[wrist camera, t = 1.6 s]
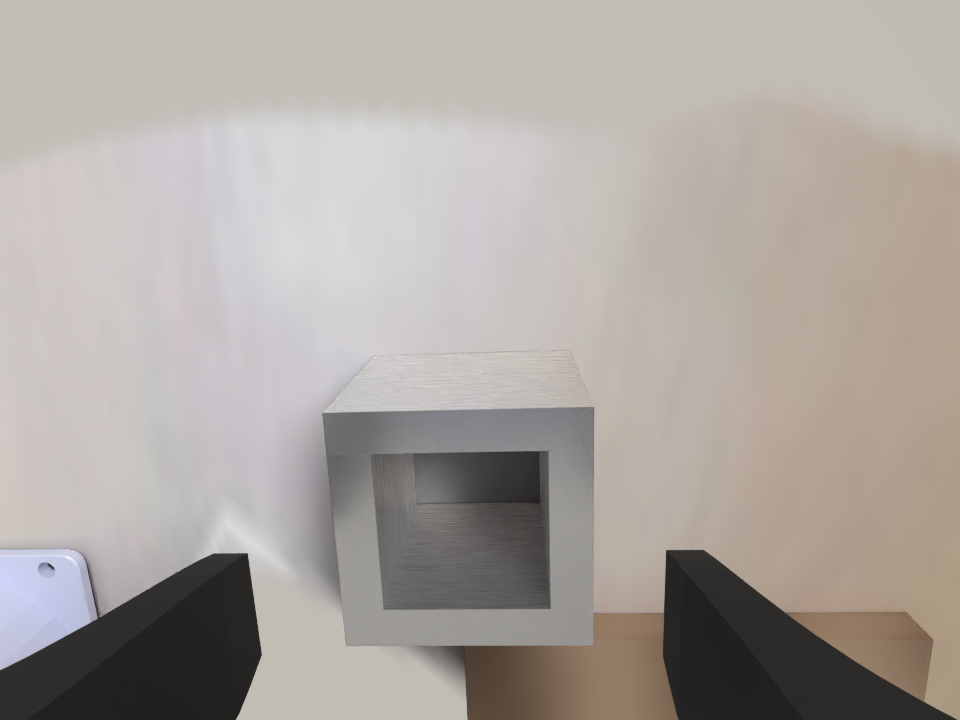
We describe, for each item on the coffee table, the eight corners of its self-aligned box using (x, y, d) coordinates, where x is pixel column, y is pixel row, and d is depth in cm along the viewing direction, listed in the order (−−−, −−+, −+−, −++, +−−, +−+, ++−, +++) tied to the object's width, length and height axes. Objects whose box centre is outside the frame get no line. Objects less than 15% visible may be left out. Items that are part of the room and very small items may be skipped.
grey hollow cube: (388, 532, 19) (346, 645, 14) (374, 355, 18) (322, 412, 13) (571, 530, 18) (593, 645, 14) (570, 350, 17) (594, 407, 12)
